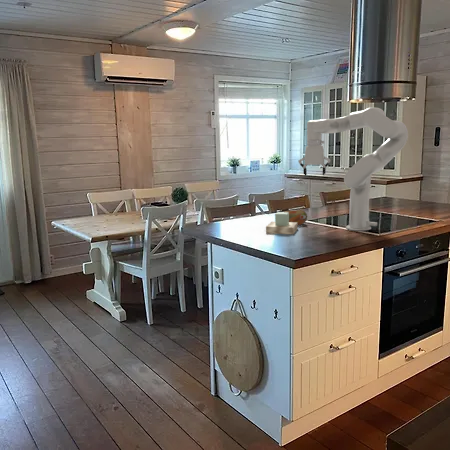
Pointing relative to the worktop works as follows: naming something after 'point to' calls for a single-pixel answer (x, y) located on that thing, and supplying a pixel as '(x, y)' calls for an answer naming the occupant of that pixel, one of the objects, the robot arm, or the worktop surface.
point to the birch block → (282, 228)
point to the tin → (297, 216)
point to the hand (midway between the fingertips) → (314, 175)
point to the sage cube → (282, 218)
